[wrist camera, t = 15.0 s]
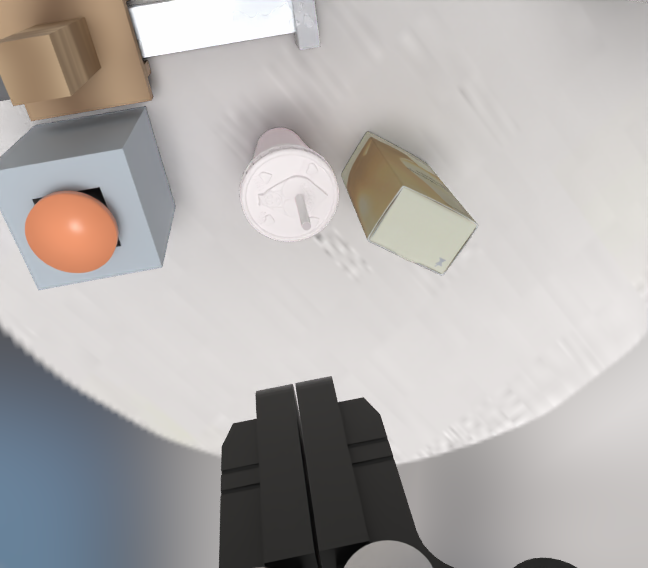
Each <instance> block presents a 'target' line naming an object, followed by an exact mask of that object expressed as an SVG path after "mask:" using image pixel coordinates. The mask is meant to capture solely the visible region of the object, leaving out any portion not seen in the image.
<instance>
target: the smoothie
mask: <svg viewBox="0 0 648 568" xmlns="http://www.w3.org/2000/svg"><path fill="white" fill-rule="evenodd" d="M239 197H240V201H241V205H242V209H243V212H244V215H245V217H246V219H247V220H248V222H249V223H250V224H251V225H252V227H253V228H254V229H256V230H257V231H258V232H259V233H261V234H262V235H264V236H266V237H268V238H270V239H273V240H277V241H283V242H294V241H300V240H304V239H307V238H309V237H311V236H313V235H315V234H317V233H318V232H320V231H321V230H322V229H323V228H324V227H325V226H326V225H327V224H328V223H329V222H330V220H331V219H332V217H333V216H334V214H335V211H336V209H337V205H338V200H339V189H338V184H337V180H336V176H335V174H334V172H333V169H332V167H331V166H330V164H329V163H328V162H327V161H326V160H325V158H324V157H323V156H321V155H320V154H318V153H317V152H315V151H314V150H312V149H310V148H309V147H308V146H307V145H306V144H305V143H304V142H303V141H302V140H301V139H300V137H299V136H298V135H297V134H296V133H295V132H293V131H292V130H290V129H287V128H283V127H277V128H272V129H270V130H268V131H266V132H265V133H264V134H263V135H262V136H261V137H260V138H259V140H258V142H257V146H256V149H255V152H254V155H253V159H252V161H251V162H250V163H249V165H248V166H247V168H246V169H245V171H244V173H243V176H242V179H241V182H240V193H239Z"/></svg>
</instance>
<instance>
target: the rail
mask: <svg viewBox="0 0 648 568" xmlns="http://www.w3.org/2000/svg"><path fill="white" fill-rule="evenodd" d="M127 8H128V11H129V15H130V18H131V22H132V25H133V29H134V32H135V35H136V39H137V42H138V46H139V49H140V53H141V56H142V58H145V57H151V56H157V55H162V54H168V53H174V52H180V51H186V50H192V49H198V48H204V47H210V46H216V45H222V44H228V43H234V42H240V41H246V40H252V39H258V38H263V37H269V36H275V35H281V34H287V33H293V32H294V35H295V42H296V45H297V46H298V48H299V49H300V50H303V49H309V48H315V47H321V46H320V39H319V31H318V23H317V16H316V8H315V0H163V1H157V2H151V3H145V4H139V5H133V6H127ZM9 99H10V97H9V95H8V92H7V90H6V87H5V85H4V83H3V80H2V78H1V76H0V101H3V100H9Z"/></svg>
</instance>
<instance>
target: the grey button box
mask: <svg viewBox="0 0 648 568" xmlns="http://www.w3.org/2000/svg"><path fill="white" fill-rule="evenodd" d="M97 187H100V189H101V192H102V194H103V197H104V200H105V202H106V205H107V208H108V209H109V210H110V212H111V213H112V215H113V216H114V218H115V220H116V223H117V226H118V232H119V236H118V242H117V245H116V248H115V251H114V253H113V255H112V257H111V258H110V259H109V261H108V262H107V263H106V264H104V265H103V266H102V267H100V268H98V269H96V270H93V271H90V272H86V273H69V272H64V271H60V270H57V269H55V268H53V267H51V266H49V265H47V264H46V263H44V262H43V261H42V260H41V259H39V258H38V257H37V256H36V255H35V254H34V252H33V251H32V249H31V248H30V246H29V244H28V242H27V239H26V235H25V222H26V218H27V216H28V214H29V212H30V211H31V209H32V208H33V207H34V206H35V204H36V203H37V202H38V201H39V200H40V199H42V198H43V197H44V196H46V195H48V194H51V193H53V192H57V191H80V190H86V189H92V188H97ZM0 211H1V213H2V215H3V217H4V219H5V221H6V223H7V225H8V227H9V230H10V232H11V234H12V236H13V238H14V240H15V242H16V244H17V246H18V248H19V250H20V253H21V255H22V257H23V259H24V261H25V263H26V265H27V267H28V269H29V271H30V273H31V275H32V278H33V280H34V282H35V284H36V286H37V288H38V290H43V289H48V288H54V287H59V286H65V285H70V284H75V283H81V282H86V281H91V280H97V279H102V278H108V277H113V276H118V275H124V274H129V273H135V272H140V271H145V270H151V269H156V268H161V267H162V266H163V261H164V257H165V252H166V248H167V243H168V239H169V234H170V230H171V225H172V220H173V216H174V211H175V203H174V200H173V197H172V193H171V190H170V187H169V183H168V180H167V177H166V173H165V170H164V167H163V163H162V160H161V157H160V153H159V150H158V147H157V143H156V140H155V137H154V133H153V130H152V127H151V123H150V120H149V117H148V113H147V110H146V107H139V108H133V109H127V110H122V111H116V112H110V113H104V114H98V115H93V116H87V117H81V118H75V119H69V120H64V121H58V122H52V123H46V124H40V125H35V126H34V127H33V128H31V129H30V130H29V131H28V132H27V133H26V134H25V135H24V136H23V137H22V138H20V139H19V140H18V141H17V142H16V143H15V144H14V145H13V146H12V147H11V148H10V149H8V150H7V151H6V152H5V153H4V154H3V155H2V156H1V157H0Z"/></svg>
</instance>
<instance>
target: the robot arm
mask: <svg viewBox="0 0 648 568" xmlns="http://www.w3.org/2000/svg"><path fill="white" fill-rule="evenodd" d="M629 1H636V2H643V3H648V0H629ZM296 391H297V398H298V405H299V410H298V405H297V400H296V396H295V391H294V387H293V384H290V385H285V386H280V387H275V388H270V389H265V390H260V391H256V413H257V419H253V420H248V421H243V422H238V423H233V425H232V427H231V429H230V431H229V433H228V435H227V437H226V439H225V441H224V443H223V445H222V462H221V471H222V475H221V504H220V505H221V507H220V550H219V568H454V567H451V566H449V565H447V564H445V563H443V562H442V561H440V560H439V559H437V558H436V557H435V556H434V555H432V553H430V552H429V551H428V549H427V548H426V547H425V546H424V545H423V543H422V541H421V540H420V538H419V536H418V533H417V531H416V528H415V525H414V521H413V518H412V515H411V512H410V509H409V505H408V503H407V499H406V496H405V493H404V489H403V486H402V483H401V480H400V477H399V474H398V470H397V467H396V464H395V461H394V459H393V454H392V451H391V448H390V445H389V441H388V439H387V435H386V432H385V429H384V425H383V422H382V419H381V416H380V414H379V413H378V412H377V411H376V410H375V409H374V408H373V407H372V406H371V405H370V404H369V403H368V402H367V400H366V399H365V398H364V397H363V398H358V399H353V400H348V401H343V402H337V397H336V393H335V388H334V384H333V380H332V376H330V377H325V378H320V379H314V380H309V381H304V382H299V383H296ZM299 412H300V414H299ZM514 568H577V567H575V566H573V565H571V564H569V563H566V562H564V561H561V560H556V559H552V558H533V559H530V560H526V561H524V562H522V563H520V564H518V565H517V566H515V567H514Z"/></svg>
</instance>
